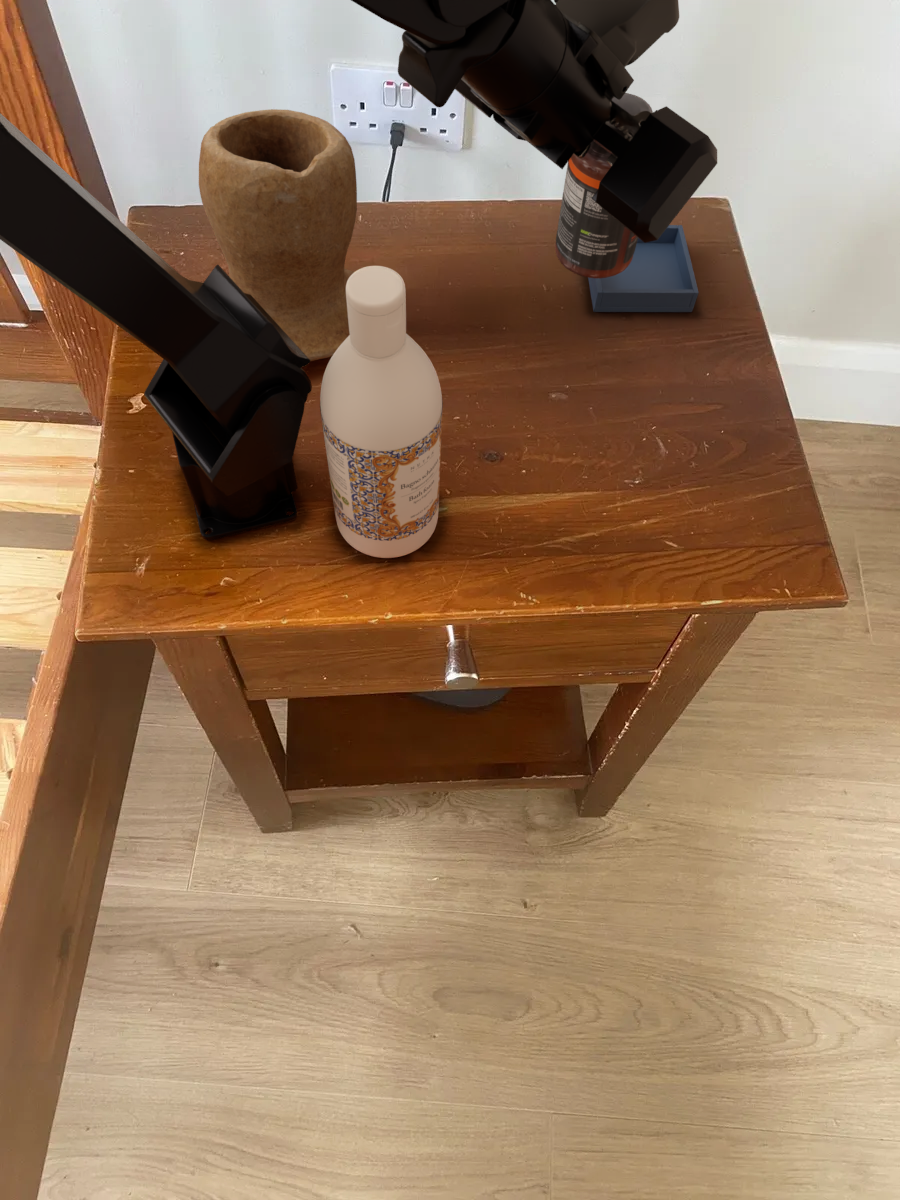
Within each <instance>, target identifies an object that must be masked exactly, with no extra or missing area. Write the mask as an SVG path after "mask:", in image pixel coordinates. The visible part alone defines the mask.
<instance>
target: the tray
mask: <svg viewBox="0 0 900 1200" xmlns="http://www.w3.org/2000/svg"><path fill="white" fill-rule="evenodd" d="M690 255H691V254H690V251H689V247H688V244H687V239H686V235H685V230H684V227H683V224H670V225H669V226H668V227H667V228H666V230H665V231H664V232H663V233H662V235H661V236H660V237H659V239H658V240H655V241H651V242H646V243H644V242H643V241H642V240H641V239H639V238H638V240H637V244H636V248H635V252H634V254H633V258H632V261H631V262H630V264H629V265H628V267H627V268H626V269H625V270H624V271H622V272H621V273H619V274H617V275H614V276H611V277H607V278H596V279H595V278H589V277H587V279H588V285H589V292H590V298H591V304H592V305H591V306H592V310H593V312H594V313H692V312H693V310H694V307H695V305H696V301H697V299H698V297H699V288H698V285H697V281H696V276H695V272H694V268H693V263H692V260H691V256H690Z"/></svg>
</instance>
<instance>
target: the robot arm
mask: <svg viewBox="0 0 900 1200" xmlns="http://www.w3.org/2000/svg"><path fill="white" fill-rule="evenodd" d="M350 1H351V2H352V3H355V4H356V5H357V6H360V7H361V8H363V9H365V10H366V11H369V12H370V13H372V14H373V15H375V16H377V18H378V17H379V18H380V19H382V20H383V21H385V22H387V23H390V24H391V25H394V26H396V27H397V28H400V29H401V30H403V33H402V34H401V41H402V49H401V51H400V53H399V56H398V63H397V64H398V65H397V74H398V76H399V77H400V78H401V79H402V80H404V82H406V83H407V84H408V85H409V86H411V87H412V88H413V89H414V90H415V91H417V92H418V93H419V94H421V95H422V97H424V98H425V99H427V100H428V101H429V103H431V104H432V105H433V106H435V107H436V108H442V107H444V106H445V105H446V104H447V102H448V101H449V99H450V98H451V96H452V94H453V93H454V91H456V92H457V93H458V94H460V95H461V96H462V97H463V98H464V99H465V100H466V101H468V102H469V103H470V104H471V105H472V106H474V107H475V108H476V109H478V110H479V111H480V112H481V113H483V114H484V115H485V116H486V117H488V118H490V119H491V118H492V119H493V121H495V122H496V124H497V125H499V126H500V127H502V128H503V129H504V130H506V131H507V132H508V133H509V134H510V135H512V136H513V137H514V138H515V139H517V140H519V141H520V140H521V141H525V142H527V143H529V144H530V145H531V146H532V147H533V148H535V149H536V150H537V151H538V152H540V153H541V154H542V155H543V156H545V157H546V158H547V159H548V160H550V161H551V162H552V163H553V164H554V165H556V166H557V167H558V168H560V169H561V170H564V168H565V167H566V165H568V161H569V159H570V158H571V157H572V155H573V154H574V155H575V156H577V157H578V158H580V159H582V158H583V157H585V155H586V154H587V152H588V151H589V150H590V147H591V144H590V143H591V142H592V141H594V142H596V143H597V144H598V145H600V146H601V147H602V148H604V149H605V150H606V151H607V152H609V153H610V154H611V155H610V156H609V158H608V159H607V160H606V162H607V163H608V164H609V165H610V166H611V168H610V169H609V171H608V172H607V173H606V175H605V176H604V177H603V179H602V180H601V181H600V183H599V188H598V190H597V191H596V192H595V194H594V195H593V197H592V199H593V200H594V201H595V202H596V203H597V204H598V205H599V206H601V207H602V208H603V209H604V210H605V211H606V212H607V213H609V214H610V215H611V216H612V217H613V218H615V219H616V220H617V221H618V222H619V223H621V224H622V225H623V226H624V227H626V228H627V229H628V230H629V231H631V232H632V233H633V234H634V235H636V236H637V237H638V238H639V239H641V240H642V241H643V242H644V243H646V242H651V241H655V240H658V239H659V237H660V236H661V235H662V233H663V232H664V231H665V230H666V228H667V227H668V226H669V225H671V223H672V222H673V221H674V220H675V218H676V217H677V216H678V215H679V213H680V212H682V211H681V210H683V208H684V207H685V206H686V205H687V203H688V202H689V200H690V199H691V198H692V197H693V195H694V194H695V193H696V192H697V190H698V189H699V187H701V185H702V184H703V183H704V181H705V180H706V179H707V178H708V176H709V175H710V173H711V172H712V171H713V170H714V169H715V167H716V166H717V165H718V149H717V147H716V146H715V144H714V143H713V141H712V139H711V138H710V137H709V135H707V134H706V133H705V132H703V131H702V130H701V129H700V128H698V127H696V126H695V125H693V124H692V123H691V122H689V121H688V120H687V119H685V118H684V117H682V116H681V115H680V114H679V113H676V112H675V111H674V110H673V109H671V108H669V106H667V105H665V106H663V107H661V108H660V109H656V110H655V111H653V113H651V112H649V111H642V112H640V113H638V114H636V115H634V116H633V115H631V114H630V113H628V112H627V111H625V110H624V109H623V108H621V107H620V106H619V105H617V104H616V103H615V102H613V101H612V99H613V98H614V97H615V98H617V99H618V100H620V99H621V98H622V97H623V95H624V94H625V93H627V92H628V90H629V88H630V87H631V86H632V85H633V83H634V82H635V79H634V78H633V77H632V75H631V74H630V73H629V72H628V69H626V67H627V66H630V65H632V64H634V63H635V62H636V61H637V60H638V59H639V58H641V56H643V55H644V54H645V53H646V52H647V51H648V50H649V49H650V48H651V47H652V46H653V45H654V44H655V43H657V41H658V40H659V39H660V38H661V37H662V36H663V35H664V34H668V33H670V32H671V31H672V30H673V29H674V28H675V27H676V26H677V25H678V22H679V20H680V5H679V0H553V1H552V0H350ZM608 121H609V123H610V124H611V125H613V124H614V125H613V126H614V127H615V128H616V129H617V128H618V130H619V131H620V132H622V131H623V133H624V135H625V136H624V137H623V136H621V135H620V134H619V133H617V132H616V131H615V130H613V129H612V128H611V127H609V126H608V125H607V124H606V122H608ZM629 132H631V134H632V135H633V137H632V136H631V135H630V134H628V133H629ZM0 241H2V242H3V243H4V244H5V245H7V246H8V247H10V248H11V249H13V250H14V251H15V252H17V253H18V254H19V255H21V256H22V257H23V258H25V259H26V260H27V261H29V262H30V263H32V265H34V266H36V267H37V268H38V269H40V270H41V271H42V272H44V273H45V274H46V275H48V276H49V277H50V278H52V279H53V280H55V281H56V282H58V283H59V284H60V285H62V286H63V287H64V288H66V289H67V290H68V291H70V293H73V294H74V295H75V296H77V297H78V298H80V300H82V301H83V302H85V303H86V304H87V305H89V306H91V308H93V309H94V310H96V311H97V312H99V313H100V314H101V315H103V316H104V317H106V319H108V320H109V321H111V322H112V323H114V324H115V325H116V326H118V327H119V328H120V329H122V330H123V331H125V332H126V333H127V334H129V335H130V336H131V337H133V338H134V339H136V340H137V341H139V342H140V343H141V344H142V345H144V346H145V347H146V348H148V349H149V350H150V351H152V352H153V353H154V354H156V355H157V356H159V357H160V358H161V359H162V361H161V362H160V364H159V366H158V367H157V369H156V371H155V373H154V375H153V376H152V378H151V380H150V381H149V384H148V385H147V387H146V388H145V390H144V393H143V396H144V397H145V399H146V400H147V401H148V402H149V404H150V405H151V406H152V407H153V409H154V410H155V411H156V413H157V414H158V415H159V417H160V418H161V420H162V421H164V423H165V424H166V425H167V427H168V428H169V430H170V431H171V432H172V437H173V442H174V446H175V452H176V456H177V461H178V465H179V467H180V469H181V472H182V475H183V478H184V481H185V483H186V486H187V488H188V491H189V493H190V497H191V499H192V502H193V505H194V511H195V515H196V519H197V522H198V523H197V524H198V528H199V532H200V535H201V537H202V539H203V540H205V541H214V540H218V539H222V538H226V537H229V536H234V535H239V534H242V533H243V534H244V533H246V532H250V531H255V530H258V529H259V530H260V529H264V528H267V527H272V526H276V525H280V524H283V523H288V522H292V521H294V520H296V519H297V518H298V516H299V515H298V508H297V505H296V502H295V498H294V495H293V493H295V492H297V491H298V489H299V487H298V485H299V484H298V480H297V476H296V471H295V466H294V461H293V459H294V454H295V449H296V446H297V441H298V437H299V433H300V428H301V424H302V420H303V417H304V413H305V405H306V402H307V400H308V398H309V397H308V396H309V395H310V393H311V392H312V389H313V384H312V380H311V378H310V377H309V375H308V374H307V372H306V371H305V370H304V368H303V367H305V366H308V365H310V363H311V361H310V359H309V358H308V357H307V356H306V355H305V354H304V353H303V352H302V351H301V349H300V348H299V347H298V346H297V345H296V344H295V343H294V342H293V341H292V340H291V338H290V337H289V336H288V335H287V334H286V333H285V332H284V331H283V330H282V329H281V327H280V326H279V325H278V324H277V323H276V322H275V321H274V320H273V319H272V318H271V316H270V315H269V314H268V313H267V312H266V311H265V310H264V309H263V308H262V307H261V305H260V304H259V303H258V302H257V301H256V300H255V299H254V298H253V297H252V296H251V295H250V294H246V293H244V292H243V291H242V290H241V289H240V288H239V287H238V286H237V285H236V284H235V282H234V281H233V280H232V279H231V278H230V277H229V274H227V272H226V271H225V270H224V269H223V268H222V267H221V266H220V264H216V265H215V266H214V268H213V269H212V270H211V272H210V273H209V274H208V276H206V278H205V280H204V281H203V282H202V281H197V280H192V279H188V278H186V277H185V276H183V275H182V274H180V273H179V272H178V271H177V270H175V268H173V266H171V265H170V264H169V263H168V262H167V261H166V260H165V259H163V258H162V256H161V255H159V254H158V253H157V252H156V251H155V250H154V249H153V248H151V246H149V245H148V244H147V243H146V242H145V241H144V240H142V239H141V238H140V237H139V236H138V235H137V234H136V233H135V232H134V231H132V230H131V229H130V227H128V226H127V225H126V224H125V223H123V222H122V221H121V220H120V219H119V218H118V217H117V216H115V214H113V212H112V211H110V210H109V209H108V208H107V207H106V206H105V205H104V204H102V202H101V201H99V200H98V199H97V198H96V197H94V196H93V195H92V194H91V193H90V192H89V191H88V190H87V189H86V188H85V187H83V186H82V185H81V184H80V183H79V182H78V181H77V180H76V179H75V178H73V177H72V176H71V175H70V174H69V173H68V172H66V171H65V170H64V169H63V168H62V167H61V166H60V165H58V163H56V162H55V160H53V158H51V157H50V156H49V155H48V154H46V152H45V151H44V150H42V149H41V148H40V147H39V146H38V145H36V143H34V142H33V141H32V140H31V139H30V138H29V137H27V136H26V134H24V133H23V132H22V131H21V130H20V129H19V128H18V127H17V126H16V125H14V124H13V123H12V122H11V121H10V120H9V119H7V117H5V116H4V115H3V114H2V113H1V112H0ZM208 532H209V533H208Z"/></svg>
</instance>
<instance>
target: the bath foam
mask: <svg viewBox="0 0 900 1200" xmlns="http://www.w3.org/2000/svg"><path fill="white" fill-rule="evenodd" d="M353 272H354V273H353V274H352V275H351V276H350V277H349V279H348V281H347V283H346V301H347V312H348V323H349V332H350V335H349V336H348V337H347V338H346V339H345V340H344V342H343V343H342V344H341V345H340V346H339V347H338V349H337V350H336V351H335V353H334V354H333V356H332V357H330V359H329V360H328V363H327V365H326V368H325V370H324V373H323V376H322V381H321V386H320V394H319V411H320V418H321V419H320V420H321V424H322V432H323V439H324V446H325V453H326V460H327V467H328V468H327V469H328V475H329V480H330V481H329V482H330V489H331V495H332V496H331V497H332V502H333V508H334V515H335V516H334V517H335V520H336V525H337V528H338V531H339V533H340V535H341V537H343V539H344V540H345V541H346V543H347V544H348V545H350V546H351V547H352V548H354V549H355V550H356V551H358V552H360V553H362V554H364V555H367V556H369V557H370V556H371V557H374V558H381V559H392V558H393V559H394V558H398V557H403V556H406V555H409V554H411V553H413V552H415V551H417V550H419V549H420V548H421V547H422V546H424V545H425V544H426V543H427V542H428V541H429V540H430V538H431V537H432V536H433V533H434V532H435V530H436V527H437V524H438V519H439V505H440V487H441V486H440V485H441V483H440V482H441V463H442V461H441V459H442V454H441V453H442V435H443V432H442V431H443V408H444V407H443V405H444V403H443V396H442V394H443V393H442V389H441V384H440V380H439V377H438V376H439V375H438V373H437V371H436V368H435V367H434V364H433V363H432V361H431V359H430V357H429V356H428V355H427V353H426V352H425V351H424V349H423V348H422V347H421V346H420V345H419V344H418V343H417V342H416V341H415V340H414V339H413V338H412V337H411V336H410V335H409V334H408V333H407V300H406V299H407V295H406V294H407V293H406V292H407V291H406V283H405V282H404V281H405V280H404V279H403V277H402V276H401V275H400V274H399V273H398V272H397V271H396V270H394V269H392V268H390V267H387V266H383V265H368V266H364V267H360V268H359V269H357V270H355V271H353Z"/></svg>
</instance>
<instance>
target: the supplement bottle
mask: <svg viewBox="0 0 900 1200" xmlns="http://www.w3.org/2000/svg"><path fill="white" fill-rule="evenodd" d="M612 101H613V102H615V103H616V104H617V105H619V106H620V107H621V108H623V109H624V110H625V111H627V112H628V113H630V114H631V115H633V116H634V115H636V114H638V113H640V112H642V111H649V112H651V113H653V112H654V111H653V109H652V107H651V105H650V104H649V102H647V101H646V100H645V99H644V98H642V97H640V96H638V95H635V94H632V93H628V92H626V93H625V94H624V95H623V97H622V98H621V99H620V100H618V99H617V98H615V97H614V98H613V99H612ZM606 124H607V125H608V126H609V127H611V128H612V129H613V130H615V131H616V132H617V133H619V134H620V135H621V136H623V137H624V136H625V135H624V133H623V131H622V132H620V131H619V130H618V128H617V129H616V128H615V127H614V126H613V125H614V124H613V125H611V124H610V123H609V121H608V122H606ZM628 134H630V135H631V136H632V137H633V135H632V134H631V132H629V133H628ZM590 144H591V147H590V150H589V151H588V152H587V154H586V155H585V157H583V158H582V159H580V158H578V157H577V156H575V155H574V154H573V155H572V157H571V158H570V159H569V161H568V162H567V164H566V165H567V166H566V171H565V172H566V173H565V178H564V185H563V192H562V197H561V205H560V211H559V216H558V223H557V230H556V236H555V244H554V251H555V254H556V257H557V259H558V261H559V262H560V264H561V265H562V266H563V268H565V269H567V270H568V271H569V272H572V273H573V274H575V275H577V276H580V277H584V278H588V277H589V278H595V279H596V278H607V277H611V276H614V275H617V274H619V273H621V272H622V271H624V270H625V269H626V268H627V267H628V265H629V264H630V262H631V261H632V258H633V254H634V252H635V248H636V244H637V240H638V237H637V236H636V235H634V234H633V233H632V232H631V231H629V230H628V229H627V228H626V227H624V226H623V225H622V224H621V223H619V222H618V221H617V220H616V219H615V218H613V217H612V216H611V215H610V214H609V213H607V212H606V211H605V210H604V209H603V208H602V207H601V206H599V205H598V204H597V203H596V202H595V201H594V200H593V199H592V197H593V195H594V194H595V192H596V191H597V190H598V188H599V183H600V181H601V180H602V179H603V177H604V176H605V175H606V173H607V172H608V171H609V169H610V168H611V166H610V165H609V164H608V163H607V162H606V160H607V159H608V158H609V156H610V155H611V154H610V153H609V152H607V151H606V150H605V149H604V148H602V147H601V146H600V145H598V144H597V143H596V142H594V141H592V142H591V143H590Z"/></svg>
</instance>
